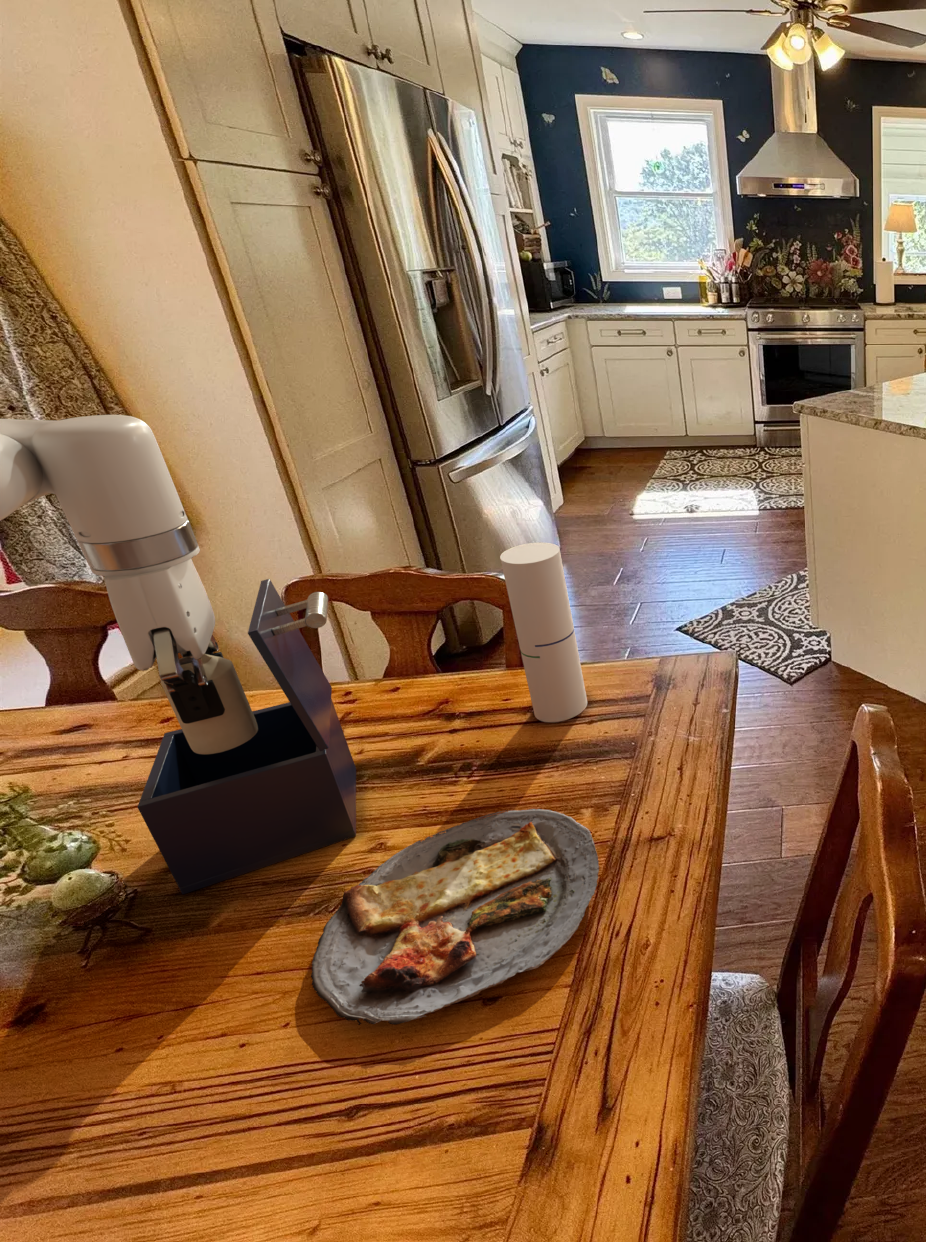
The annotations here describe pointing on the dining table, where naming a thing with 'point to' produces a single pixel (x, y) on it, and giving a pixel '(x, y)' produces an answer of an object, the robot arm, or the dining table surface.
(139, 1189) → the dining table surface
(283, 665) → the lid
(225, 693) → the candle
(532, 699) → the cylindrical container
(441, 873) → the food plate
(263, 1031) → the dining table surface
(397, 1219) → the dining table surface
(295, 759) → the navy blue box
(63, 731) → the dining table surface
